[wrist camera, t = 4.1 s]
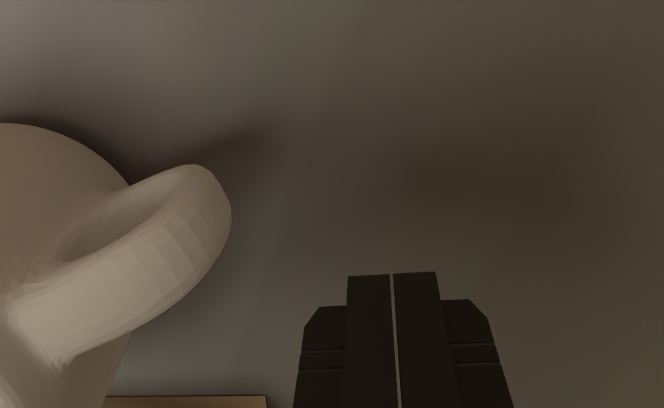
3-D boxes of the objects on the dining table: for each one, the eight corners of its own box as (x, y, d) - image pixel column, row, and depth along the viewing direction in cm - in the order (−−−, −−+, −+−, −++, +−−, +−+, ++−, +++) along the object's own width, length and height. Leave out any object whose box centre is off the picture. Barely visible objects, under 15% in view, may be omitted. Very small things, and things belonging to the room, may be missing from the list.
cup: (181, -21, 13) (-43, 44, 6) (328, 254, 16) (290, 515, 9) (-150, 153, 16) (-580, 343, 9) (28, 364, 19) (-186, 636, 12)
